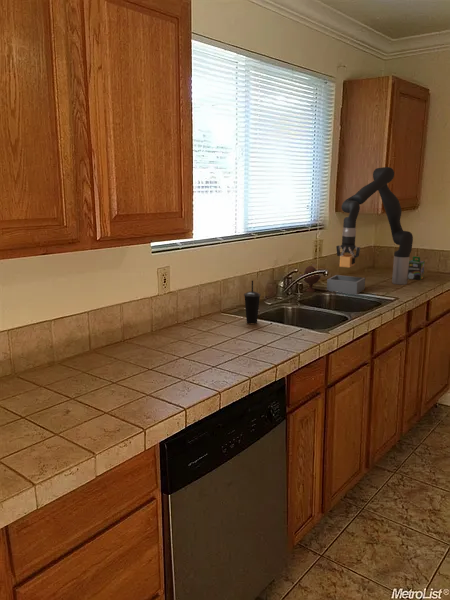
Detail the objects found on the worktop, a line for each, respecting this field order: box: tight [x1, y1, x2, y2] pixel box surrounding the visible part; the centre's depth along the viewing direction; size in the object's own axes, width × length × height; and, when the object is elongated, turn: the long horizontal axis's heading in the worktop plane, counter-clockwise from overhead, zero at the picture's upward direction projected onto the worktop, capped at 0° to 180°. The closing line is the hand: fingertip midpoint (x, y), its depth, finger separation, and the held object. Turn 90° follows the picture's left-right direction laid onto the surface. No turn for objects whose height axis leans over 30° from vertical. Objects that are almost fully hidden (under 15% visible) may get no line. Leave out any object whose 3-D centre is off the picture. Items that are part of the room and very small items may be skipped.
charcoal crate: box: [326, 274, 366, 295], centre depth 306 cm, size 16×18×7 cm
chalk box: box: [408, 256, 425, 281], centre depth 340 cm, size 9×9×15 cm
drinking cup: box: [243, 280, 261, 324], centre depth 236 cm, size 8×8×20 cm
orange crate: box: [338, 253, 356, 268], centre depth 303 cm, size 10×6×6 cm, turn 149°
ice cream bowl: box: [301, 265, 322, 293], centre depth 303 cm, size 11×11×15 cm
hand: (347, 263), depth 303 cm, fingers closed on orange crate, 6 cm apart
